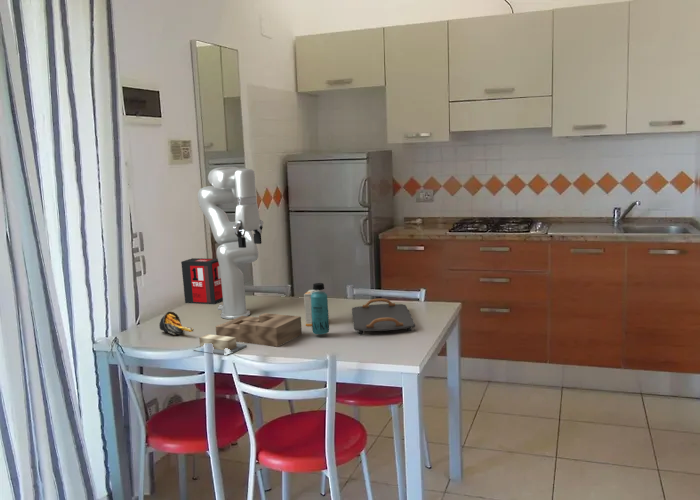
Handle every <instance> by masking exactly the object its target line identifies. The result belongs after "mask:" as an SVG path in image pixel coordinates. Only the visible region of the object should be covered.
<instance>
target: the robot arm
mask: <svg viewBox="0 0 700 500" xmlns="http://www.w3.org/2000/svg"><path fill="white" fill-rule="evenodd" d="M255 175H256V174H255V171H254V170H253V169H252V168H246V167H245V168H239V167H238V166H223V167H214V168H213V169H211V170H210V171H209V173H208V175H207V179H208V182H209V184H210V185H208V186H204V187H201V188H200V189H199V190H198V191H197V201H198V205H199V208H200V210H201V212H202V214H203V215H204V217H205V218H206V219H207V221H208V223H209V227H210V230H211V232H212V236H213V238H214V241H215V242H216V243H217V245H219V246H218V247H217V248H216V259H218V263H219V267H220V274H221V284H222V296H223V301H222V304H218V305H219V306H217V310H218V311H221V313H220V318H222V319H225V320H226V319H227V320H233V319H236V318H238V317H241V316H250V314H251V311H250V310H248V309H247V303H246V302H247V301H246V290H245V289H246V288H245V279H244V273H243V271H242V270H241V269H240V268H239V267H238V265H243V264H251V263H254V262H255V261H257V260H258V258H259V248H258V246H257V244H258V245H261V244H262V233H263V232H262V231H263V225H264V221H263V220H261V219H260V212H259V207H258V206H259V205H258V201H257V200H258V199H257V191H256V189H257V187H256V176H255ZM235 203H236V207H235V217H234V218H235V221H230V220H229V217H228V214H227V213H226V212H225V211H224V210H223V209H222V208H220V207H219V206H217V205H228V204H235Z"/></svg>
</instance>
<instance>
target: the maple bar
mask: <svg viewBox="0 0 700 500" xmlns="http://www.w3.org/2000/svg"><path fill="white" fill-rule="evenodd" d="M204 343H212V344H213V347H214V349H220V350H224V349H225V348H228V349H230V350H231V349H233V348H235V347H237V344H238V343H237V342H236V337H228V336H220V335H216V334H209V333H206V334H205V335H201V336H200V337H199V346H200V347H201V346H203V345H204Z"/></svg>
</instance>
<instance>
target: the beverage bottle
mask: <svg viewBox="0 0 700 500" xmlns="http://www.w3.org/2000/svg"><path fill="white" fill-rule="evenodd" d="M312 290H320V291H318V292H314V293H312V295H311V312H312V315H311V317H312V326H311V329H312V330H311V331H312V333H313V334H315V335H324V334H325V335H326V334H328V333H329V332H330V319H329V317H330V316H329V304H328V303H329V302H328V294H327V293H326V292H325V291H322V290H325V285H324V283H322V282H315V283H313V284H312Z"/></svg>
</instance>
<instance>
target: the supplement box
mask: <svg viewBox="0 0 700 500" xmlns="http://www.w3.org/2000/svg"><path fill="white" fill-rule="evenodd" d="M318 291H321V290H313V289H308V290H307V291H306V292H305V293H303V302H304V315H305V317H304V318H305V326H306V327H312V317H311V315H312V312H311V295H312V293H314V292H318Z"/></svg>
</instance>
